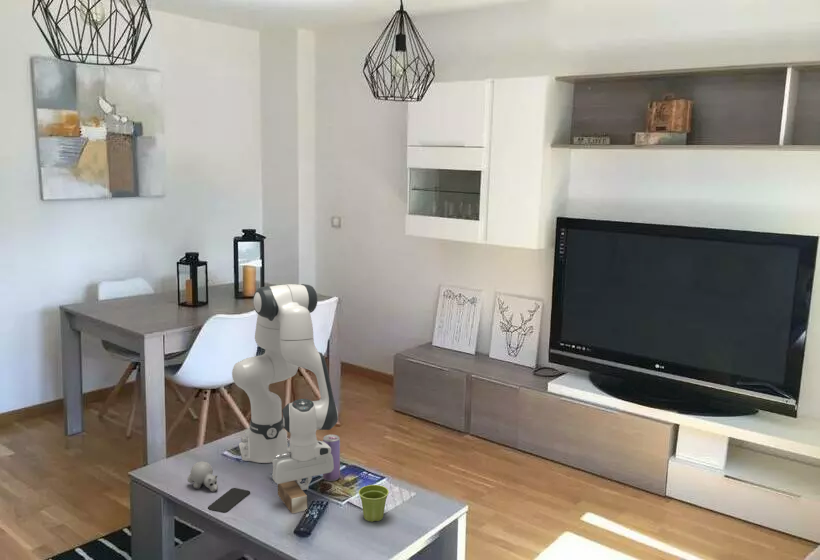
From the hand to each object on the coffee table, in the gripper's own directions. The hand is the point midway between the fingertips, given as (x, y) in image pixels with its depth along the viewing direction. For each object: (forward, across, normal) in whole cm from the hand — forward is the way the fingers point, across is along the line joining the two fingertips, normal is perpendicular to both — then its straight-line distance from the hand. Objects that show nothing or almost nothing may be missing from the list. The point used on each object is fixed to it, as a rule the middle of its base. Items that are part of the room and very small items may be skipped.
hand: (303, 489), depth 233 cm
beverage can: (+4, +14, +10) cm, 18 cm away
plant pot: (+4, +15, -21) cm, 26 cm away
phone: (+4, -22, +11) cm, 24 cm away
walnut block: (+1, -4, -7) cm, 8 cm away
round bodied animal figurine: (+4, -26, +23) cm, 35 cm away
